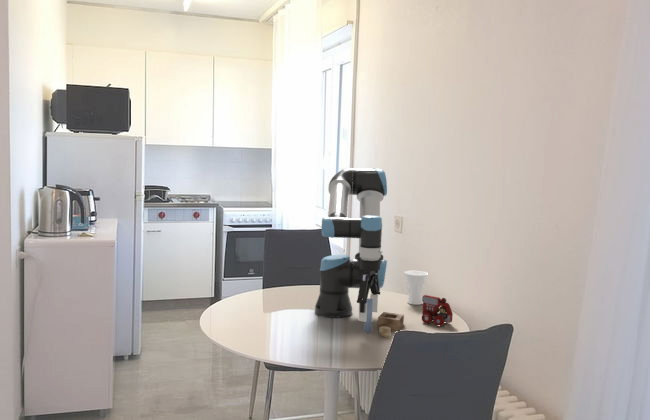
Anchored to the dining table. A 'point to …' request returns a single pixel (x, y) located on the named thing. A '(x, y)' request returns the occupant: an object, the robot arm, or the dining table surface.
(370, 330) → the blue rectangular block
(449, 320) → the toy fire truck
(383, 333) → the loose oak bead
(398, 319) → the wooden block with hole
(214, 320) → the dining table surface
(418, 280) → the cup
